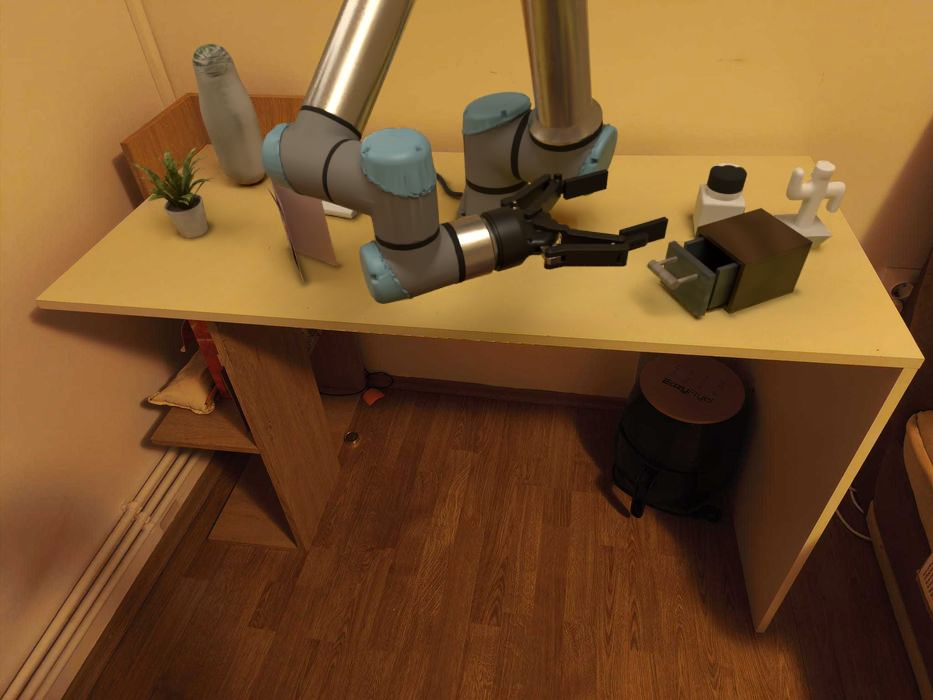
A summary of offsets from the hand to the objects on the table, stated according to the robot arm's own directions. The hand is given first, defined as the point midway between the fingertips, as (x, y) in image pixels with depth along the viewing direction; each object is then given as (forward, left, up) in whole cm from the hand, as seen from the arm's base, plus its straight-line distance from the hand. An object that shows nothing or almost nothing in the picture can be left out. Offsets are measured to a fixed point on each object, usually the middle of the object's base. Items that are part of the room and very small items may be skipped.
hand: (634, 201), depth 81 cm
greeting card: (-55, -6, -22) cm, 59 cm away
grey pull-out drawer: (+10, +12, -21) cm, 26 cm away
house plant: (-82, -7, -22) cm, 85 cm away
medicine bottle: (+8, +33, -22) cm, 41 cm away
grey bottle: (-87, +13, -22) cm, 90 cm away
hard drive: (-63, +12, -22) cm, 68 cm away
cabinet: (+15, +18, -22) cm, 32 cm away
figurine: (+22, +34, -22) cm, 46 cm away
